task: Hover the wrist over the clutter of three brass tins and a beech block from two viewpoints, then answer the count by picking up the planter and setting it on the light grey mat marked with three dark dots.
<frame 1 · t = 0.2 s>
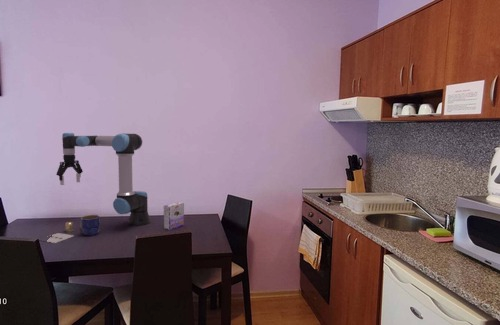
hand: (70, 183, 234), 28 cm above the table, fingers open, 13 cm apart
beech block: (85, 227, 222), on the table
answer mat: (56, 238, 199), on the table
brass tin b: (69, 231, 212), on the table
candy box: (174, 227, 225), on the table
brass tin a: (84, 229, 217), on the table
brass tin c: (95, 228, 219), on the table
planter: (90, 234, 208), on the table
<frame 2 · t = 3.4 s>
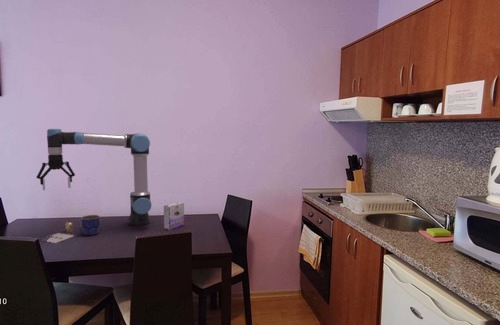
hand: (56, 188, 198), 31 cm above the table, fingers open, 13 cm apart
nothing on the table moved.
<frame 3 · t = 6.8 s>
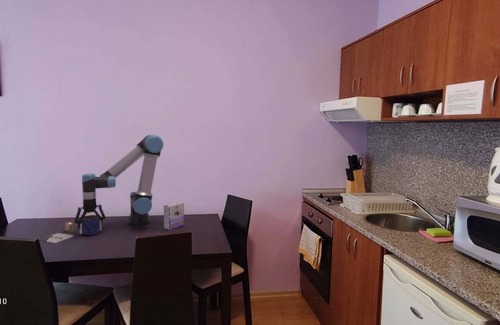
hand: (90, 231, 208), 2 cm above the table, fingers closed on planter, 11 cm apart
planter: (90, 234, 208), on the table, touching gripper
everything else where it was.
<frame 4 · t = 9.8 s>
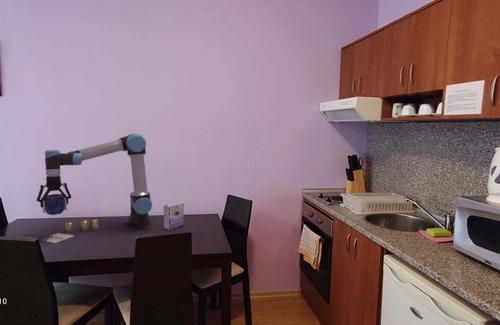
hand: (55, 211, 197), 17 cm above the table, fingers closed on planter, 11 cm apart
planter: (55, 213, 197), point 15 cm above the table, touching gripper
everything else where it was.
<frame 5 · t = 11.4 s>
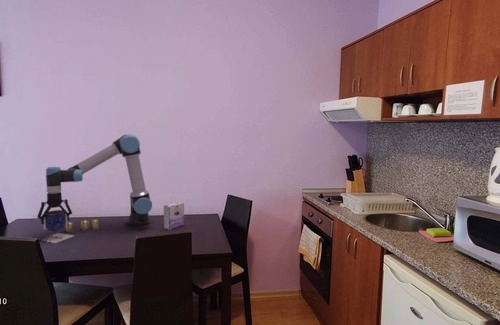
hand: (55, 227, 198), 7 cm above the table, fingers closed on planter, 11 cm apart
planter: (55, 230, 198), point 5 cm above the table, touching gripper
everything else where it was.
when the fingers open (3 cm above the table, at t = 12.8 s): planter drops 1 cm, resting on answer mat.
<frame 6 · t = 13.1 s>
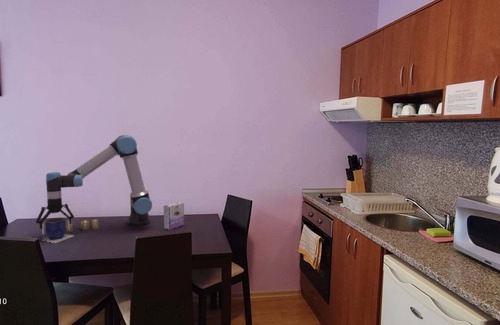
hand: (56, 231, 199), 4 cm above the table, fingers open, 13 cm apart
planter: (56, 238, 199), resting on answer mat
everything else where it was.
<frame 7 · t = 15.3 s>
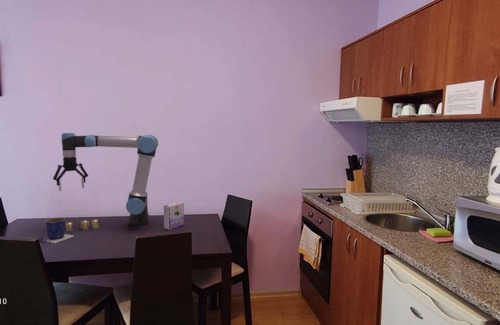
hand: (71, 189, 210), 28 cm above the table, fingers open, 13 cm apart
nothing on the table moved.
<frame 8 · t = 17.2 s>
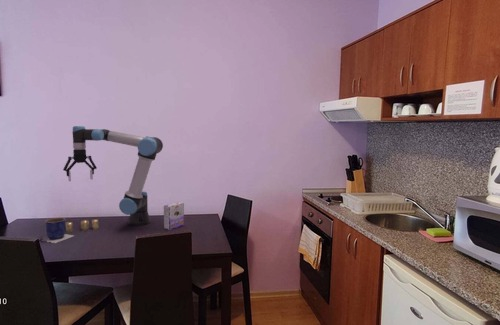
hand: (80, 180, 220), 33 cm above the table, fingers open, 13 cm apart
nothing on the table moved.
at the end: planter 0.1 cm from the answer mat (horizontally); planter tilted 0°; the gripper is holding nothing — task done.
